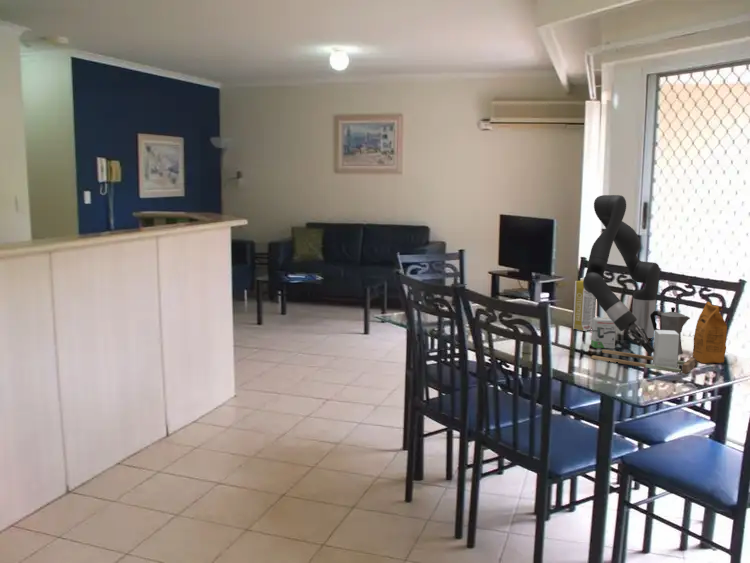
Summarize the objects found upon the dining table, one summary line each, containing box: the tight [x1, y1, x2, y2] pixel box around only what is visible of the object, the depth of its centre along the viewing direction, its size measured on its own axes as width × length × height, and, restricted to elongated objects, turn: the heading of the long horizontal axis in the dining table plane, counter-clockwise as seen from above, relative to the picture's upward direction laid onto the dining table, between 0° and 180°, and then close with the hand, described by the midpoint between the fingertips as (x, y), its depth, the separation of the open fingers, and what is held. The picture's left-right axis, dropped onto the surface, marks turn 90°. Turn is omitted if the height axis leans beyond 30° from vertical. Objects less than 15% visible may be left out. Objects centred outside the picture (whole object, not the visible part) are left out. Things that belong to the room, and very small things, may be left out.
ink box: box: [590, 316, 617, 349], centre depth 278 cm, size 9×5×12 cm, turn 85°
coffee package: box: [692, 301, 728, 364], centre depth 257 cm, size 10×12×22 cm
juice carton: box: [572, 277, 597, 332], centre depth 309 cm, size 9×8×24 cm
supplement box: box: [652, 329, 679, 369], centre depth 250 cm, size 7×7×13 cm
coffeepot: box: [650, 306, 691, 355], centre depth 271 cm, size 15×9×18 cm, turn 45°
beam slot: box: [590, 348, 696, 375], centre depth 255 cm, size 14×34×3 cm, turn 53°
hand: (652, 352), depth 252 cm, fingers closed
